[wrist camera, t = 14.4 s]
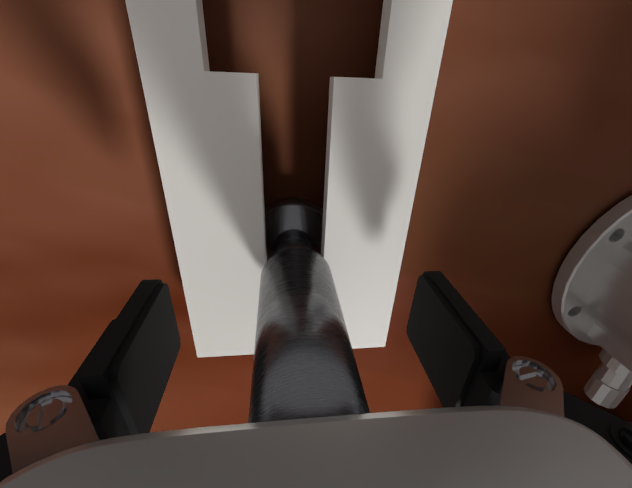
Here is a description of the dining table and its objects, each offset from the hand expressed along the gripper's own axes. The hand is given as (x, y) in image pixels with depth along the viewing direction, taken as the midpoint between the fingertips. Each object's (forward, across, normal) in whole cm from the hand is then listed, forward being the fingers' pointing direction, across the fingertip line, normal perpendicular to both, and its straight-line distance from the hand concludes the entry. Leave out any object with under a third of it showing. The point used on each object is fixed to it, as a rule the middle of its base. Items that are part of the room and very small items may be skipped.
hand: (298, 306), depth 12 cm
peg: (+6, 0, 0) cm, 6 cm away
